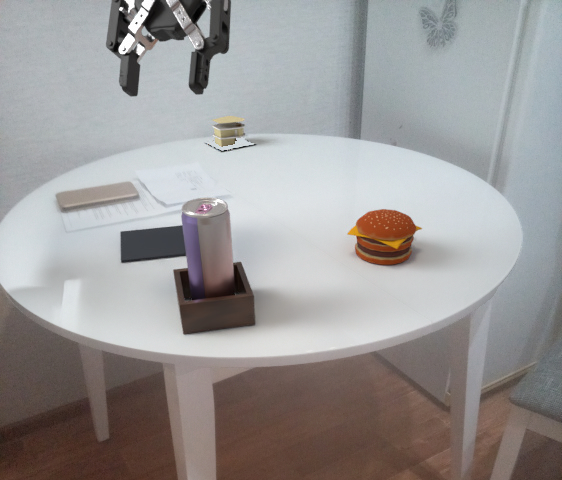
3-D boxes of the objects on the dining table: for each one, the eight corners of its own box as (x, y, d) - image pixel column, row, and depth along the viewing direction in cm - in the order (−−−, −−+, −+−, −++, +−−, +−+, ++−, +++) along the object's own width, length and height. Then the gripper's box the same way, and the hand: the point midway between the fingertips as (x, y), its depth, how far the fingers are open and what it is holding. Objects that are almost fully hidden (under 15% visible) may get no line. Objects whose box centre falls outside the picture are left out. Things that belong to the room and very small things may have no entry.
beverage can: (186, 319, 76) (172, 213, 66) (201, 296, 80) (190, 194, 71) (228, 324, 75) (220, 218, 65) (241, 302, 79) (235, 198, 70)
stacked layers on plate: (221, 152, 131) (219, 127, 127) (203, 142, 137) (201, 118, 133) (257, 144, 135) (256, 120, 132) (238, 135, 141) (237, 112, 138)
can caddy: (183, 334, 73) (179, 305, 70) (177, 297, 80) (173, 269, 77) (255, 324, 75) (254, 295, 72) (242, 289, 82) (241, 261, 79)
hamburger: (343, 256, 90) (346, 217, 86) (371, 235, 96) (374, 197, 92) (397, 272, 86) (402, 231, 81) (422, 249, 92) (428, 210, 88)
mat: (121, 262, 89) (120, 260, 88) (120, 233, 97) (120, 231, 97) (190, 255, 90) (190, 252, 90) (184, 227, 99) (184, 225, 99)
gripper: (100, -76, 60) (87, 79, 61) (219, -95, 55) (203, 74, 57) (139, -31, 67) (127, 108, 68) (248, -44, 62) (233, 105, 64)
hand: (162, 92), depth 62 cm, fingers open, 8 cm apart
